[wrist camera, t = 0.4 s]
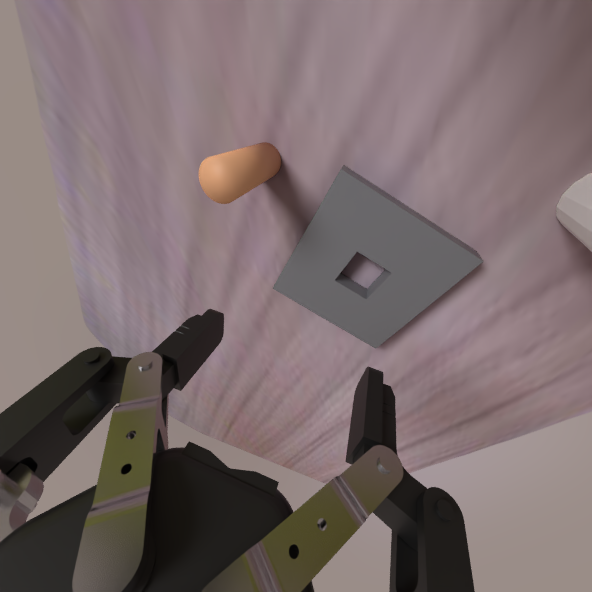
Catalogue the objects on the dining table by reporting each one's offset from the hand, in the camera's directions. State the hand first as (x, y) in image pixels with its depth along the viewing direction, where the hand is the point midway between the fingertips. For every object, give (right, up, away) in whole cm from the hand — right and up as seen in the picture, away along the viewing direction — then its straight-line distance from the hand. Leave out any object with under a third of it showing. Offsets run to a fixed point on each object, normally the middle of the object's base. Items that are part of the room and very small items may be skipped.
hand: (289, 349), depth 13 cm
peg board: (+9, +7, +20) cm, 23 cm away
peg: (-3, +19, +16) cm, 25 cm away
